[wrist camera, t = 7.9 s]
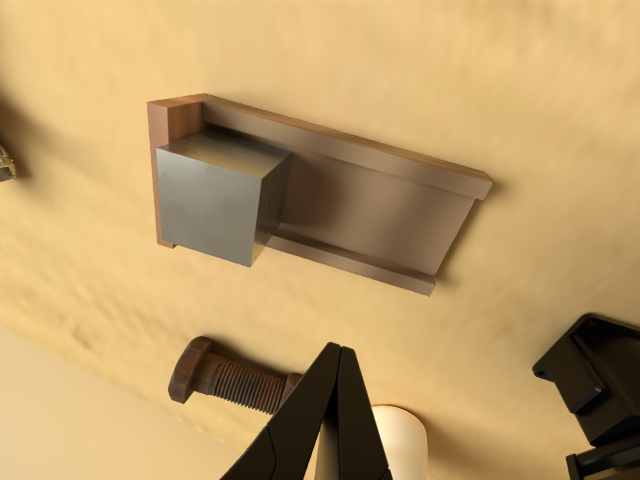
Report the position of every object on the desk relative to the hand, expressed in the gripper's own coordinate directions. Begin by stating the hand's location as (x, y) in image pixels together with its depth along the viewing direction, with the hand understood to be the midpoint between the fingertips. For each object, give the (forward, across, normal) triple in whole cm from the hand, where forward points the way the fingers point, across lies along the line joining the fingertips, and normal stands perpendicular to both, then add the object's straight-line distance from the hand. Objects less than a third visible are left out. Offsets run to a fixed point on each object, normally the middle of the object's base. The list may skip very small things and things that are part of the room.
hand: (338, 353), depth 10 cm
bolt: (+12, +4, +20) cm, 24 cm away
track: (+12, +3, 0) cm, 12 cm away
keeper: (+11, +8, 0) cm, 13 cm away
